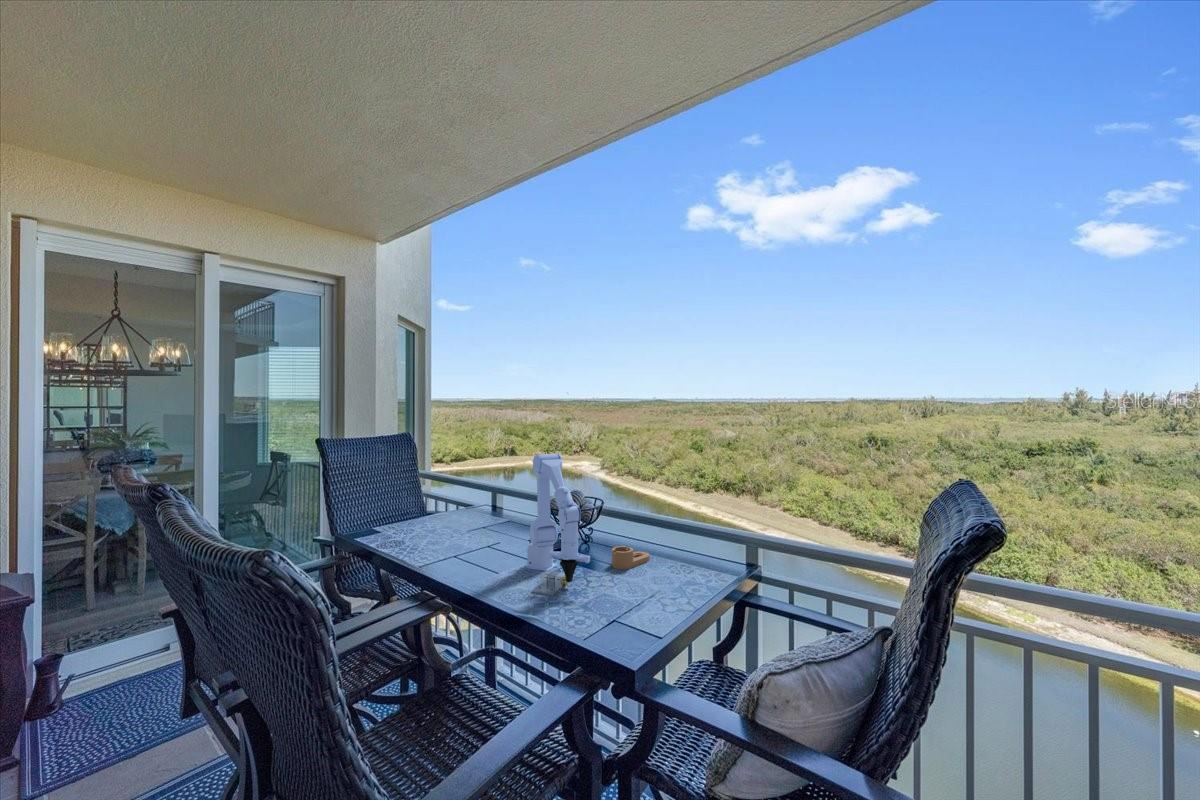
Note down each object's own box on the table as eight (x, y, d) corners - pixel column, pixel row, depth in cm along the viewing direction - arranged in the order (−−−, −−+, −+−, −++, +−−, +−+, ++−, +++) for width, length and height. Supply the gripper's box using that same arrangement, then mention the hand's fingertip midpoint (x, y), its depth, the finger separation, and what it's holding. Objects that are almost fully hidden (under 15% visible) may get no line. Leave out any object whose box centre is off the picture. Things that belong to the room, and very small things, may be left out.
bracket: (623, 572, 178) (623, 553, 179) (607, 567, 184) (607, 549, 184) (653, 561, 191) (653, 544, 191) (637, 556, 197) (637, 540, 197)
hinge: (532, 592, 159) (532, 580, 159) (554, 575, 174) (554, 564, 174) (552, 595, 156) (552, 583, 156) (573, 578, 171) (573, 567, 171)
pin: (542, 583, 165) (542, 575, 165) (545, 580, 168) (545, 573, 168) (565, 586, 162) (565, 579, 162) (568, 584, 164) (568, 576, 164)
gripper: (545, 542, 162) (545, 582, 162) (584, 546, 157) (584, 588, 157) (554, 536, 169) (554, 575, 168) (592, 541, 163) (592, 581, 163)
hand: (569, 581), depth 163 cm, fingers closed
